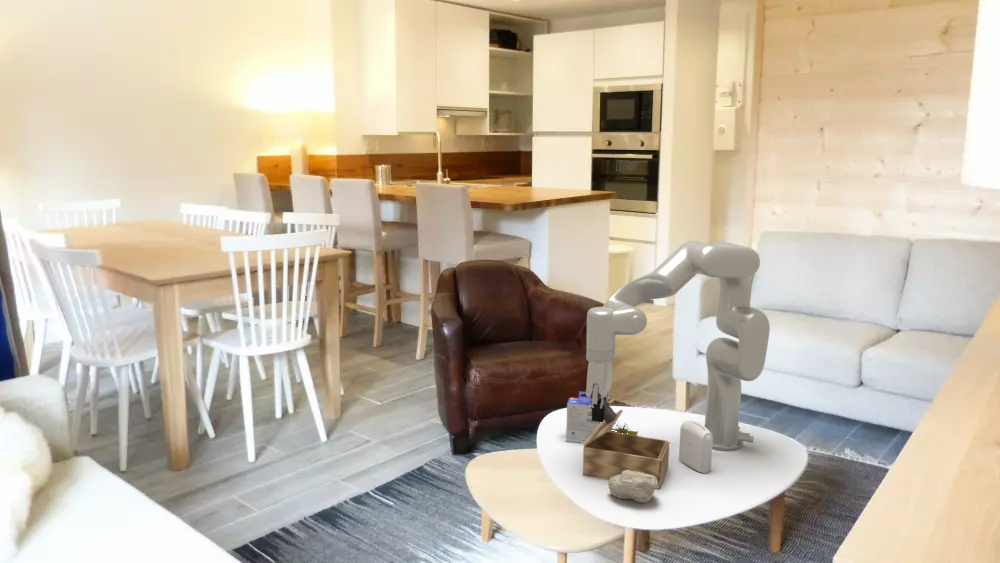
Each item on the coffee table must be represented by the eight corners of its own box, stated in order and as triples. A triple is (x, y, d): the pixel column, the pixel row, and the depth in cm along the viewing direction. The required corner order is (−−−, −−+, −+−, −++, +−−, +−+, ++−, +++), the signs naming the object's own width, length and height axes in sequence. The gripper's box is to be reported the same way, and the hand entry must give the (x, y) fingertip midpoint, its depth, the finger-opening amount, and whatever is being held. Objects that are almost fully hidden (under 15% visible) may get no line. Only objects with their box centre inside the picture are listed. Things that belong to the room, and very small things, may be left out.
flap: (584, 446, 200) (566, 423, 200) (596, 428, 211) (579, 406, 212) (612, 428, 196) (594, 404, 196) (622, 411, 207) (605, 389, 208)
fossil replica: (606, 489, 194) (612, 512, 185) (605, 460, 192) (612, 482, 182) (652, 485, 194) (661, 508, 185) (652, 457, 192) (661, 478, 182)
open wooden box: (668, 468, 206) (669, 441, 204) (659, 489, 194) (661, 460, 192) (594, 455, 213) (595, 429, 212) (582, 475, 201) (583, 447, 200)
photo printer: (676, 459, 211) (678, 418, 209) (688, 457, 213) (691, 415, 210) (700, 475, 202) (703, 432, 200) (713, 472, 204) (716, 429, 201)
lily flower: (638, 448, 220) (639, 433, 219) (597, 442, 223) (598, 428, 222) (643, 432, 231) (644, 418, 230) (604, 427, 234) (605, 413, 233)
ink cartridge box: (600, 437, 226) (602, 391, 223) (599, 445, 220) (601, 398, 217) (567, 434, 228) (569, 389, 225) (565, 441, 222) (567, 395, 219)
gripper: (594, 343, 208) (592, 406, 212) (579, 361, 193) (578, 428, 197) (620, 346, 206) (619, 409, 210) (607, 364, 191) (606, 432, 195)
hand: (599, 418), depth 203 cm, fingers closed on flap, 3 cm apart
